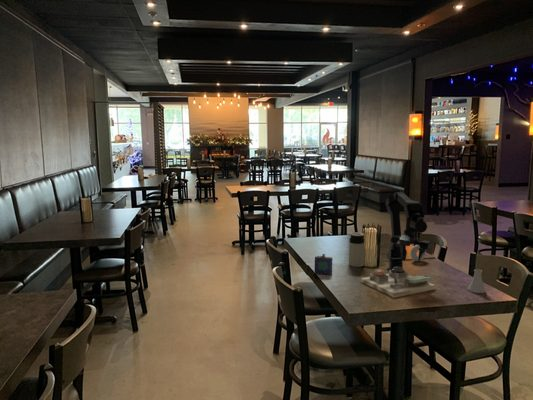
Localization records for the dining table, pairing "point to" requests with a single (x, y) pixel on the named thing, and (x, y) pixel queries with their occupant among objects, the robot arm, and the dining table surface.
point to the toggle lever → (394, 275)
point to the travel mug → (356, 249)
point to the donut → (414, 253)
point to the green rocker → (416, 279)
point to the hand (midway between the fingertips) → (410, 259)
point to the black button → (398, 269)
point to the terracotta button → (379, 273)
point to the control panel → (399, 289)
